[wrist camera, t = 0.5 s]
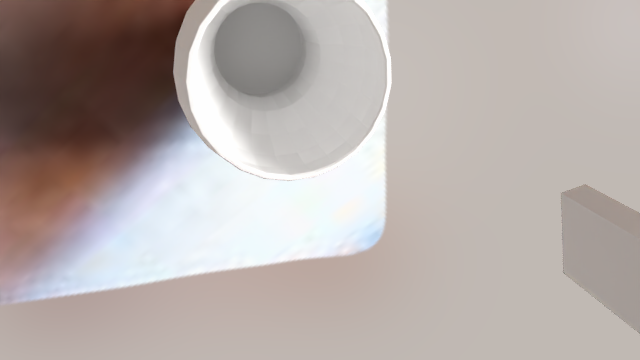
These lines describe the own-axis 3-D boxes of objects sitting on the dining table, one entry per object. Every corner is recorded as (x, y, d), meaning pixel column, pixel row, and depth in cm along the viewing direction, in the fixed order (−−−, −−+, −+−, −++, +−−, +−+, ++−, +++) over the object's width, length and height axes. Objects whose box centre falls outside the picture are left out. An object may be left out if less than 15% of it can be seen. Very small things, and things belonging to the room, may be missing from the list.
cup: (227, 141, 38) (249, 229, 25) (147, 11, 34) (118, 32, 20) (348, 73, 39) (434, 124, 25) (284, -64, 34) (347, -93, 21)
